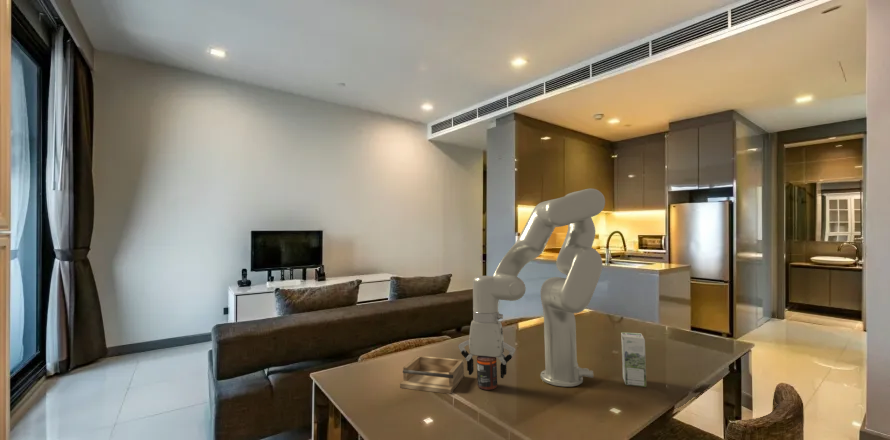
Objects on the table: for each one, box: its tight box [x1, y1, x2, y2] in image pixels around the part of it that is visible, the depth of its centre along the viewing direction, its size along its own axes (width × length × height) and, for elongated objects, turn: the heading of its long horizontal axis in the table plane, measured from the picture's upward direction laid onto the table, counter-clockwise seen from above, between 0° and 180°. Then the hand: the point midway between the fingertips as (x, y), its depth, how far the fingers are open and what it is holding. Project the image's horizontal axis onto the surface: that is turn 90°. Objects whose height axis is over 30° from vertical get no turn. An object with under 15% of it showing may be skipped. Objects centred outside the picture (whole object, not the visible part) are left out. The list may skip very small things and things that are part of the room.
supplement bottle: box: [476, 356, 498, 391], centre depth 109 cm, size 6×6×11 cm
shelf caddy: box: [399, 355, 465, 395], centre depth 113 cm, size 16×14×5 cm
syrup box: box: [620, 332, 647, 388], centre depth 110 cm, size 6×6×14 cm
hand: (486, 374), depth 109 cm, fingers open, 9 cm apart
